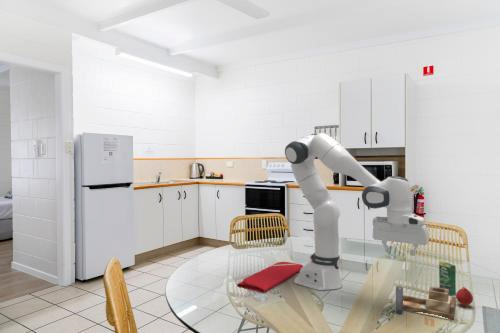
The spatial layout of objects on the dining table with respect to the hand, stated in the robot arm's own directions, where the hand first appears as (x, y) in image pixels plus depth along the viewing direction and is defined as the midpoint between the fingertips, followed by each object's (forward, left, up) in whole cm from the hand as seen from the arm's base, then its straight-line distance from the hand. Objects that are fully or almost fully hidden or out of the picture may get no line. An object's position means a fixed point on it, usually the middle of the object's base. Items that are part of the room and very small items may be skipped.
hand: (399, 253), depth 139 cm
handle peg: (0, -1, -23) cm, 23 cm away
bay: (+8, +8, -23) cm, 26 cm away
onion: (+21, +20, -23) cm, 37 cm away
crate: (+13, +8, -22) cm, 27 cm away
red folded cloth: (-61, +9, -23) cm, 66 cm away
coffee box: (+14, +34, -23) cm, 44 cm away
